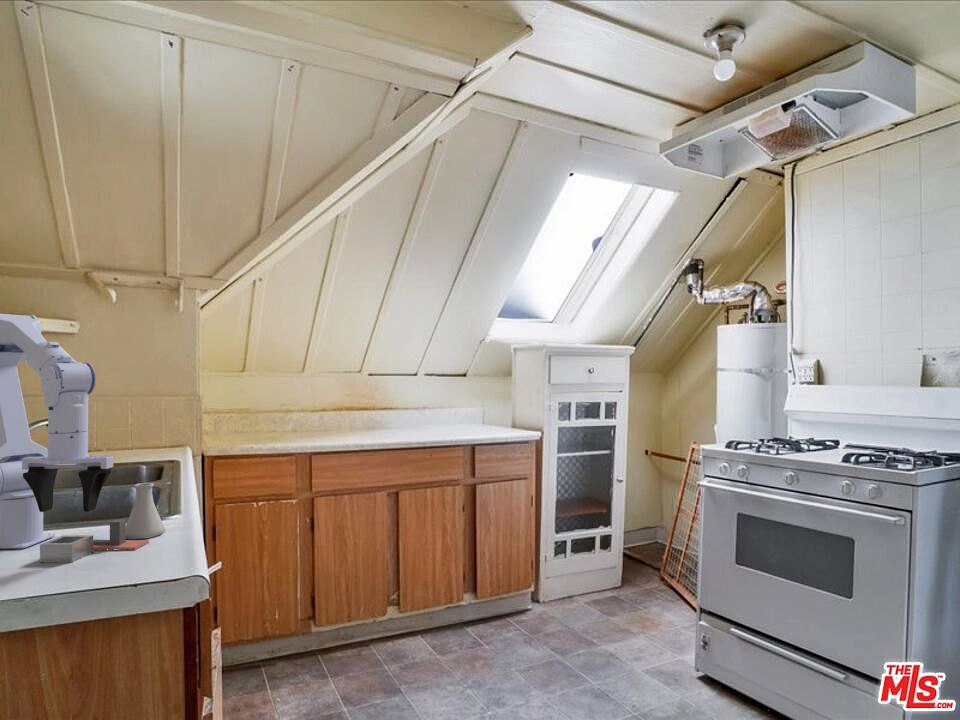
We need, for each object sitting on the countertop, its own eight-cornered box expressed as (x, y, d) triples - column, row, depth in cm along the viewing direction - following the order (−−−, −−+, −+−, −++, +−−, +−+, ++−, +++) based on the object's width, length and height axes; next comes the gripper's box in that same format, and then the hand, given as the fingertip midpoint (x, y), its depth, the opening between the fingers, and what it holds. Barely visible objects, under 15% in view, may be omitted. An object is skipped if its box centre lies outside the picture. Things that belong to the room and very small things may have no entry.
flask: (172, 530, 117) (172, 480, 118) (148, 541, 110) (148, 488, 110) (139, 529, 118) (139, 480, 118) (113, 540, 111) (113, 487, 111)
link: (39, 562, 98) (40, 544, 98) (62, 552, 103) (62, 535, 103) (72, 562, 98) (72, 544, 98) (93, 552, 103) (93, 535, 103)
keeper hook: (80, 550, 104) (80, 524, 104) (96, 543, 109) (96, 517, 109) (135, 550, 104) (135, 523, 105) (149, 542, 109) (149, 517, 109)
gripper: (7, 434, 97) (7, 516, 97) (95, 434, 97) (94, 515, 97) (39, 430, 104) (39, 506, 104) (120, 429, 104) (120, 505, 104)
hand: (67, 510), depth 101 cm, fingers open, 7 cm apart
